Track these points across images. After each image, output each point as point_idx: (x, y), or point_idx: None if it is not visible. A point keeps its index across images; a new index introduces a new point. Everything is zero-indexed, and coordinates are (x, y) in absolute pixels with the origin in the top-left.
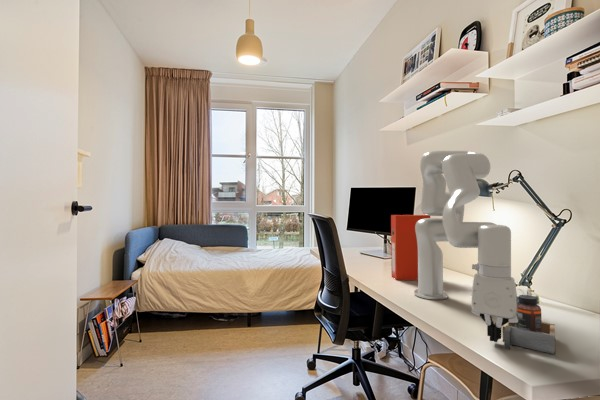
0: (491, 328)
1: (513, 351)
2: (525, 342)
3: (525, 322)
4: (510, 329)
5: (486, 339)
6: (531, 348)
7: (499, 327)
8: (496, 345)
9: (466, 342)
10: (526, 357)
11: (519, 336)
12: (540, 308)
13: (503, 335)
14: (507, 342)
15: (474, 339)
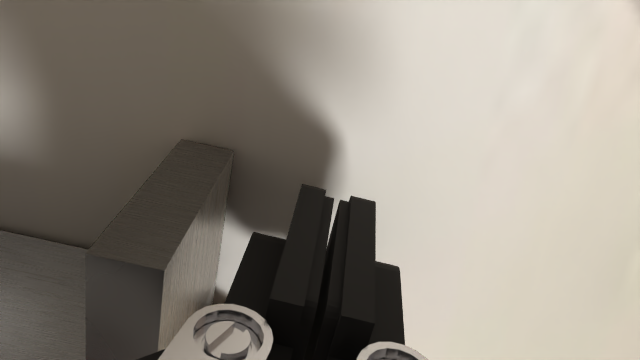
0: (351, 292)
1: (152, 116)
2: (23, 273)
3: None
4: (86, 338)
5: None
6: (2, 234)
7: (223, 307)
8: None
9: (634, 147)
10: (27, 10)
11: (48, 320)
12: None
13: None
14: (181, 173)
15: (515, 264)
